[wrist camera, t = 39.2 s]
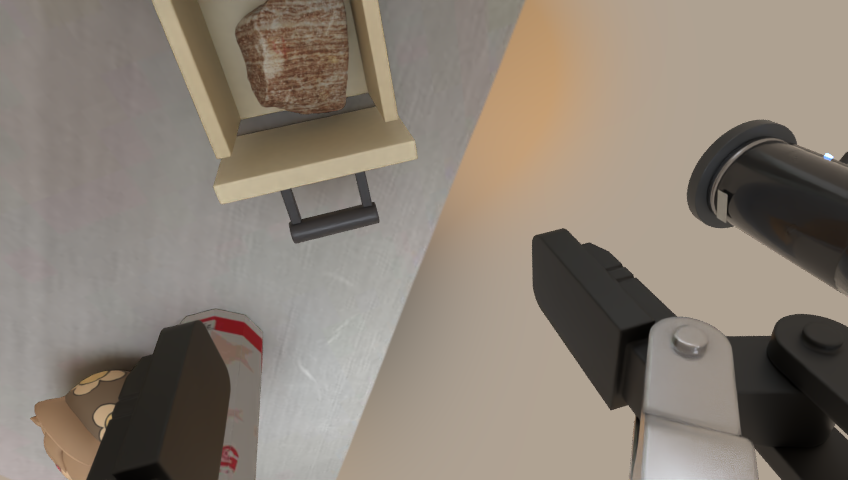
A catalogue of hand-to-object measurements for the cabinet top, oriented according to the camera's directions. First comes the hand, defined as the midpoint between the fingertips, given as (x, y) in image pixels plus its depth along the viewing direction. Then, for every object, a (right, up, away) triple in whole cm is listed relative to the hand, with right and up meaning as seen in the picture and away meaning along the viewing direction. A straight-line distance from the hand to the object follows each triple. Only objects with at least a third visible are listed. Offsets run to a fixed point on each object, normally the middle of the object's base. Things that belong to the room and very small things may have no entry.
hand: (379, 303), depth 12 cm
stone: (-7, +13, +18) cm, 24 cm away
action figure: (-27, -14, +32) cm, 43 cm away
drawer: (-7, +13, +19) cm, 24 cm away
